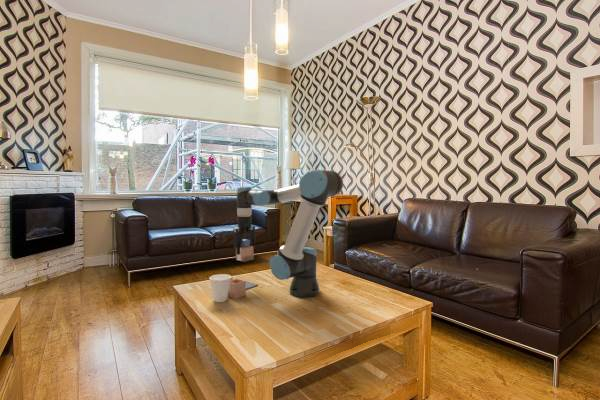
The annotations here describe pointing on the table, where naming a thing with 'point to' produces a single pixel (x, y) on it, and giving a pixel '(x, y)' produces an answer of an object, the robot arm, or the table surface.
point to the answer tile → (250, 285)
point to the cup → (220, 287)
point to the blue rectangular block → (245, 243)
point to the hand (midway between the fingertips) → (244, 259)
